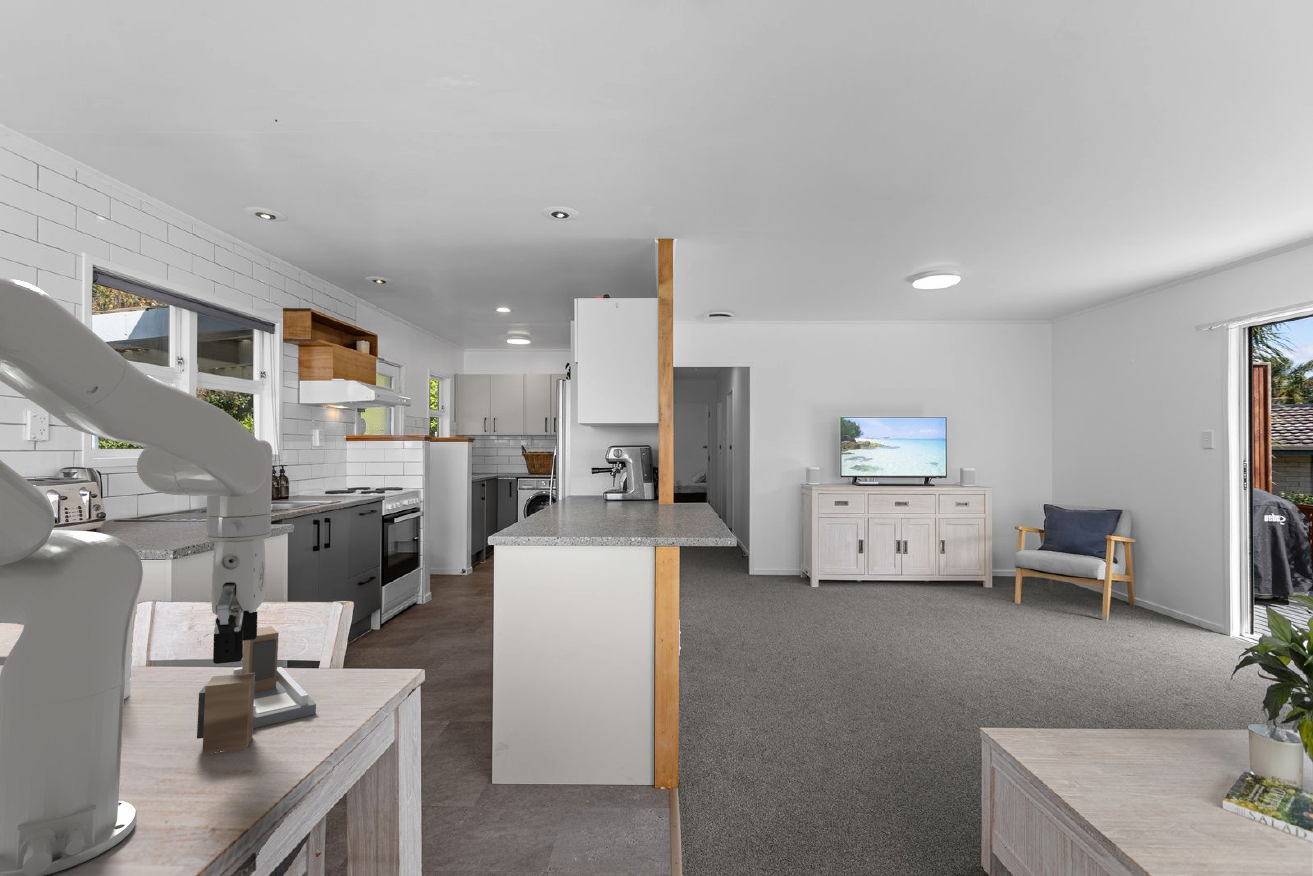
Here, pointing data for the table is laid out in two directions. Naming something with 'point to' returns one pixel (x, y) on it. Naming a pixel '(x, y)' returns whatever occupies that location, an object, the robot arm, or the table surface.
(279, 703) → the frame
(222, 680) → the walnut finger
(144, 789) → the table surface
